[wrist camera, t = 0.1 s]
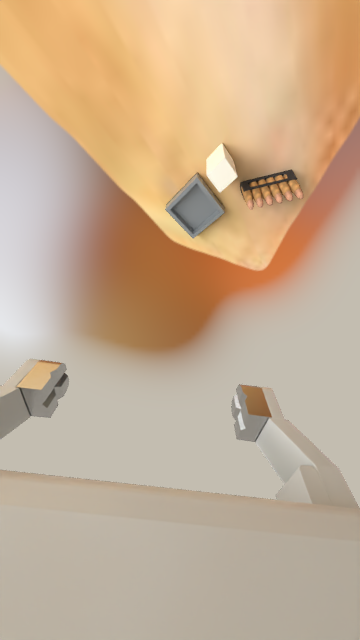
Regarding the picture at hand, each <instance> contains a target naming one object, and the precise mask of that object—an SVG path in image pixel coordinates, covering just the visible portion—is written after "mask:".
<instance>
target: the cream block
mask: <svg viewBox="0 0 360 640" xmlns="http://www.w3.org/2000/svg"><path fill="white" fill-rule="evenodd" d="M207 176H208V178H209V179H210V180H211V182H212V183H213V184H214V186H215V187H216V189H217V190H218V191H219V193H220V192H221V191H222V190H224V189H225V188H226V187H227V186H228V185H229V184H230V183H231V182H233V181H234V180H235V179H236V178H237V177H238V176H237V172H236V168H235V165H234V161H233V159H232V157H231V156H230V154H229V153H228V151H227V150H226V148H225V147H224V145H223V143H221V145H220V146H219V147H218V148H217V149H216V150H215V151H214V152H213V153H212V154H211V155H210V156H209V157H208V158H207Z"/></svg>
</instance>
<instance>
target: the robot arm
mask: <svg viewBox="0 0 360 640" xmlns="http://www.w3.org/2000/svg"><path fill="white" fill-rule="evenodd" d="M65 371H66V365H65V364H64V363H59V362H52V361H45V360H37V359H29V360H27V361H26V362H25V363H24V364H23V365H22V366H21V367H20V368H19V369H18V370H17V371H16V372H15V373H14V374H13V375H12V376H11V378H9V380H8V381H7V382H6V383H5V384H4V385H3V386H0V439H2V438H3V437H4V436H6V435H7V434H8V433H10V432H11V431H12V430H14V429H15V428H16V427H18V426H19V425H20V424H22V423H23V422H24V421H26V420H27V419H28V418H30V416H37V417H48V418H50V417H51V416H52V414H53V412H54V411H55V409H56V408H57V406H58V399H60V398H61V397H63V396H64V394H65V393H66V391H67V388H68V384H69V378H68V376H67V375H66V374H65V373H64V372H65ZM236 391H237V394H236V395H235V396H234V397H233V400H232V406H231V407H232V415H233V417H234V418H235V420H236V422H235V424H234V427H235V432H236V438H237V439H239V440H245V441H252V442H255V443H256V445H257V446H258V448H259V449H260V450H261V452H262V453H263V455H264V456H265V458H266V459H267V460H268V462H269V463H270V465H271V466H272V468H273V469H274V470H275V472H276V473H277V475H278V476H279V477H280V479H281V480H282V482H283V483H284V486H283V487H282V488H281V489H280V490H279V492H278V493H277V494H276V499H277V500H274V499H264V498H256V497H246V496H237V495H228V494H219V493H209V492H201V491H191V490H182V489H173V488H164V487H154V486H145V485H136V484H127V483H117V482H109V481H99V480H90V479H81V478H71V477H63V476H53V475H44V474H35V473H25V472H17V471H7V470H0V640H360V508H359V506H358V504H357V502H356V501H355V498H354V496H353V495H352V493H351V491H350V489H349V487H348V485H347V483H346V481H345V479H344V477H343V475H342V473H341V471H340V470H339V468H338V467H337V466H336V465H335V464H334V463H333V462H331V460H330V459H329V458H327V457H326V456H325V455H324V454H323V453H322V452H321V451H320V450H319V449H318V448H317V447H316V446H315V445H314V444H313V443H312V442H311V441H310V440H309V439H308V438H307V437H305V436H304V435H303V434H302V433H301V432H300V431H299V430H298V429H297V428H296V427H295V426H294V425H293V424H292V423H291V422H290V421H289V420H286V419H284V416H283V414H282V412H281V409H280V407H279V404H278V402H277V399H276V397H275V394H274V392H273V390H272V389H271V388H265V387H257V386H248V385H240V384H239V385H238V387H237V389H236Z"/></svg>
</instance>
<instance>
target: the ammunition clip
mask: <svg viewBox="0 0 360 640" xmlns="http://www.w3.org/2000/svg"><path fill="white" fill-rule="evenodd" d="M296 180H297V178H296V176H295V175H294V173H293V171H292V170H288V171H284V172H280V173H276V174H272V175H268V176H264V177H260V178H256V179H252V180H247V181H243V182H241V183H240V187H241V193H242V195H243V198H244V200H245V202H246V203H247V206H248V207H249V209H251V210H252V209H253V207H254V203H253V198H254V200H255V202H256V203H257V205H258V206H259V207H262V206H263V200H262V197H263V199H265V201H266V203H267V204H268V205H272V203H273V200H272V196H273V197H274V198H275V200H276V201H277V202H278V203H282V196H281V193H282V195H284V197H285V198H286V199H287V200H289V201H292V199H293V196H292V193H294V194H295V195H296V197H298V198H299V199H302V198H303V192H302V190H301V188H300V185H299V184H298V182H297V181H296ZM290 190H291V191H290ZM291 192H292V193H291ZM271 195H272V196H271Z"/></svg>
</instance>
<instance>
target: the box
mask: <svg viewBox="0 0 360 640" xmlns="http://www.w3.org/2000/svg"><path fill="white" fill-rule="evenodd" d="M165 210H166V211H167V212H168V213H169V214H170V215H171V216H172V217H173V218H174V219H175V220H176V222H177V223H178V224H179V225H180V226H181V227H182V228H183V229H184V230H185V231H186V232H187V233H188V234H189V235H190V236H191V237H192V238H194V237H196V236H197V235H198V234H199V233H200V232H202V231H203V230H204V229H205V228H207V227H208V226H209V225H210V224H211V223H213V222H214V221H215V220H216V219H217V218H219V217H220V216H221V215H222V214H224V213H225V211H224V206H223V205H222V204H221V203H220V201H219V200H218V199H217V197H216V196H215V195H214V193H213V192H212V191H211V190H210V188H209V187H208V186H207V184H206V183H205V182H204V180H203V179H202V178H201V177H200V175H199V174H198V173H196V174H195V175H194V176H193V177H192V178H191V180H190V181H189V182H188V183H187V184H186V185H185V186H184V187H183V188H182V189H181V190H180V191H179V192H178V193H177V194H176V195H175V196H174V197H173V198H172V199H171V200H170V201H169V202H168V203H167V205H166V209H165Z"/></svg>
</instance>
